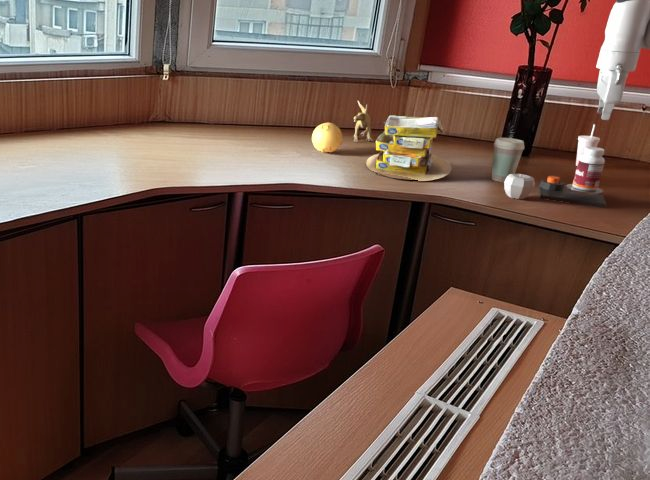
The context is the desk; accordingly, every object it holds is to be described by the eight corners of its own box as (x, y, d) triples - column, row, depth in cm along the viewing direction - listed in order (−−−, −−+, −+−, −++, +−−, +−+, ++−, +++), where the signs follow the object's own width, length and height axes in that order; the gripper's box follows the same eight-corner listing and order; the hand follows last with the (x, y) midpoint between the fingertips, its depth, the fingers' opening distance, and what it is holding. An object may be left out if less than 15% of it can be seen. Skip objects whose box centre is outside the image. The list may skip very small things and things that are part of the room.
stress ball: (308, 153, 237) (311, 123, 233) (312, 147, 246) (316, 118, 242) (338, 157, 234) (342, 126, 230) (342, 151, 243) (345, 121, 239)
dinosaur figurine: (349, 146, 250) (354, 107, 245) (352, 132, 274) (357, 96, 269) (371, 148, 249) (377, 109, 244) (373, 134, 272) (378, 98, 267)
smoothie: (588, 170, 231) (599, 126, 226) (567, 165, 236) (578, 123, 231) (595, 167, 236) (606, 124, 230) (575, 163, 240) (585, 121, 235)
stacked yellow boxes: (435, 186, 205) (445, 128, 198) (353, 171, 217) (361, 116, 211) (458, 170, 224) (469, 117, 217) (382, 157, 236) (389, 106, 230)
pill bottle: (568, 184, 199) (578, 145, 195) (592, 186, 198) (602, 146, 194) (576, 190, 193) (586, 150, 189) (600, 192, 193) (611, 151, 188)
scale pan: (600, 188, 198) (601, 186, 198) (604, 196, 191) (604, 194, 190) (564, 184, 201) (565, 182, 201) (566, 191, 194) (567, 189, 194)
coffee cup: (515, 185, 210) (524, 144, 205) (484, 180, 214) (492, 140, 209) (518, 179, 217) (527, 139, 212) (488, 174, 220) (496, 135, 216)
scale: (600, 195, 203) (602, 185, 202) (605, 208, 191) (608, 197, 190) (538, 187, 209) (540, 177, 208) (539, 199, 197) (542, 188, 196)
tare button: (557, 182, 204) (559, 176, 204) (558, 185, 202) (559, 179, 201) (546, 181, 205) (547, 175, 205) (546, 183, 203) (548, 177, 202)
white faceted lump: (504, 200, 194) (509, 176, 192) (497, 192, 202) (502, 169, 199) (535, 203, 193) (540, 179, 191) (527, 195, 200) (533, 172, 198)
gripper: (636, 67, 173) (621, 124, 178) (625, 60, 191) (612, 112, 196) (607, 65, 176) (593, 121, 181) (599, 58, 193) (586, 109, 198)
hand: (602, 116), depth 188 cm, fingers open, 8 cm apart
